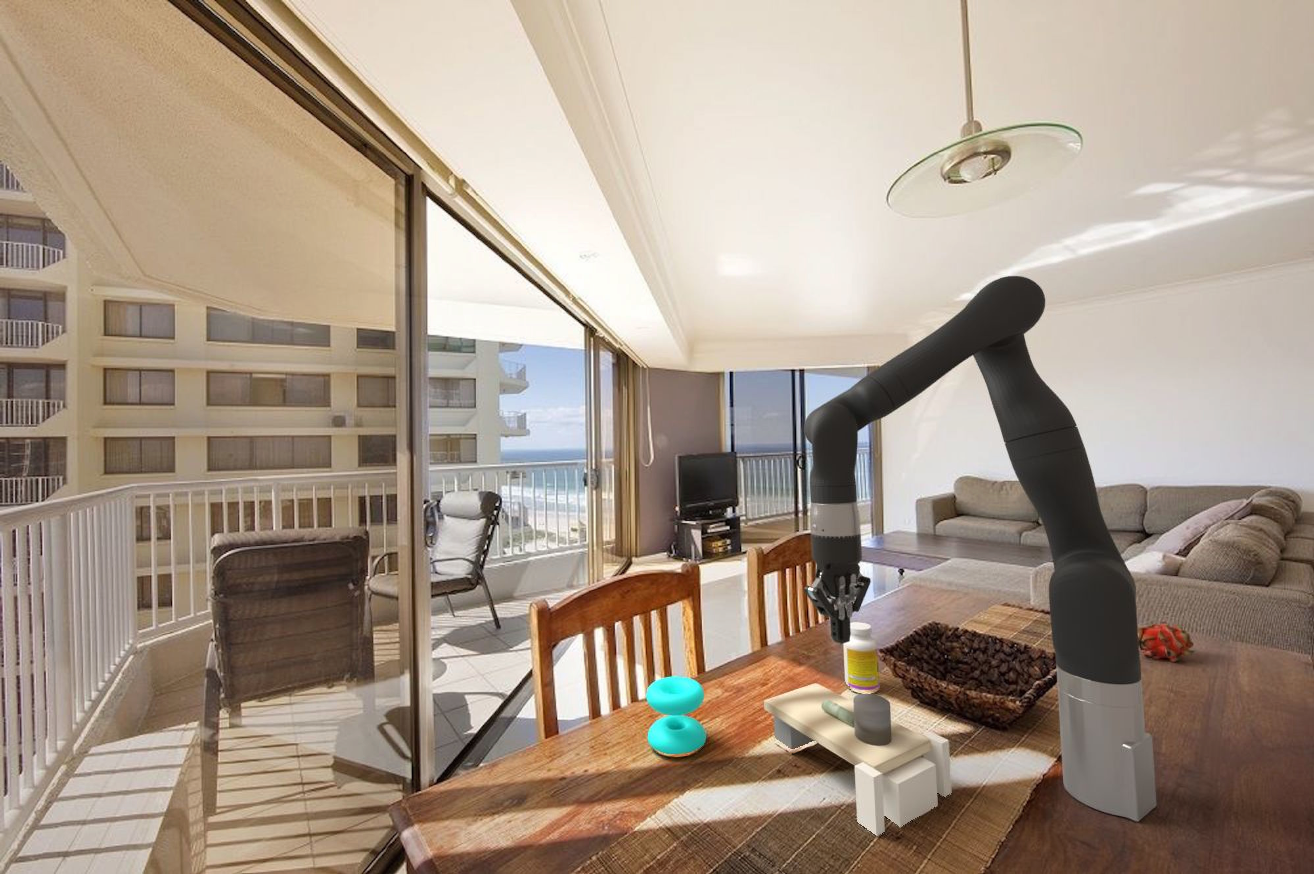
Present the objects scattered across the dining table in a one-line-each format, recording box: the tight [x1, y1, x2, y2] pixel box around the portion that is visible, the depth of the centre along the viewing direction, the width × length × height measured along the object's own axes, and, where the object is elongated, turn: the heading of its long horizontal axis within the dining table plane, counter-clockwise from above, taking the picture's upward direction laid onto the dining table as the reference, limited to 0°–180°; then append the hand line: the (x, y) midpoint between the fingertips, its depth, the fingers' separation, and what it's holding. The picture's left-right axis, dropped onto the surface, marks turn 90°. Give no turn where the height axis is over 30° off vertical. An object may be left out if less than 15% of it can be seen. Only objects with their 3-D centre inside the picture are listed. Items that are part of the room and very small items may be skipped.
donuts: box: [645, 676, 707, 754], centre depth 91 cm, size 10×10×10 cm
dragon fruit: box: [1138, 621, 1195, 663], centre depth 119 cm, size 8×8×12 cm
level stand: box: [773, 715, 953, 837], centre depth 82 cm, size 24×16×8 cm, turn 29°
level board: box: [763, 682, 931, 774], centre depth 83 cm, size 22×12×6 cm, turn 29°
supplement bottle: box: [842, 621, 880, 690], centre depth 110 cm, size 7×7×13 cm
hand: (841, 641), depth 83 cm, fingers closed
